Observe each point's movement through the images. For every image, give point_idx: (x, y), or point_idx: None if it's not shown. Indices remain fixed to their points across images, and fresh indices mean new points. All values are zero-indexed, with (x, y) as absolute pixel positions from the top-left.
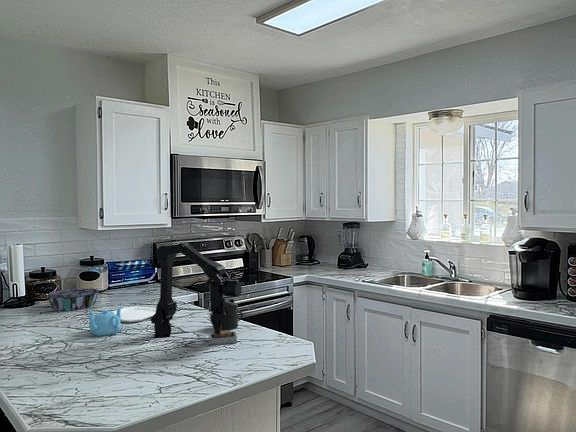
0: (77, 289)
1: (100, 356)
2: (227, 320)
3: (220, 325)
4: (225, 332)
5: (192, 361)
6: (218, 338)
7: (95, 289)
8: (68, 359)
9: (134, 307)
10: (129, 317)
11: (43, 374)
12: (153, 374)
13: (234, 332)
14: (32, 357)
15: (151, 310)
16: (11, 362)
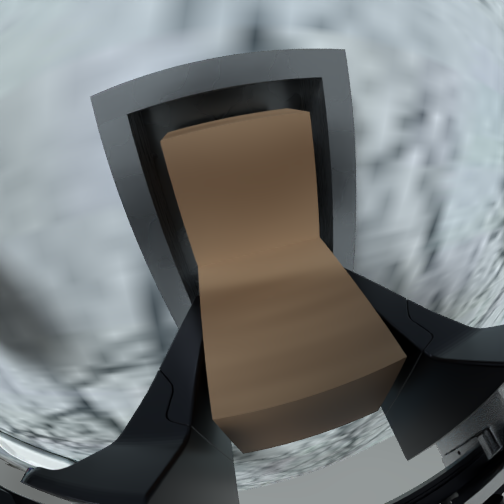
0: (37, 489)
1: (330, 444)
2: None
3: (425, 312)
4: (266, 198)
5: (477, 278)
6: (353, 240)
7: (22, 482)
8: (327, 454)
9: (14, 455)
10: (61, 465)
11: (381, 436)
12: (482, 326)
13: (135, 89)
14: (301, 471)
15: (1, 441)
16: (315, 469)
